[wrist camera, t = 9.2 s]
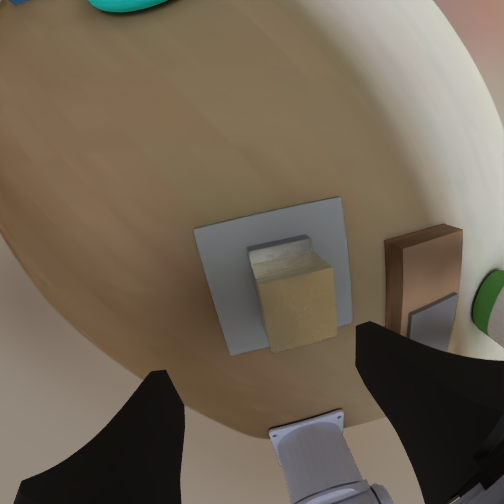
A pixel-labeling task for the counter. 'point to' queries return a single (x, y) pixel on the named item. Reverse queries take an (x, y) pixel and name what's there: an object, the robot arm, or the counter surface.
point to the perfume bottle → (17, 1)
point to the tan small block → (293, 292)
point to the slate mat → (239, 270)
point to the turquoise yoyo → (124, 4)
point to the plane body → (424, 284)
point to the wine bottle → (491, 307)
